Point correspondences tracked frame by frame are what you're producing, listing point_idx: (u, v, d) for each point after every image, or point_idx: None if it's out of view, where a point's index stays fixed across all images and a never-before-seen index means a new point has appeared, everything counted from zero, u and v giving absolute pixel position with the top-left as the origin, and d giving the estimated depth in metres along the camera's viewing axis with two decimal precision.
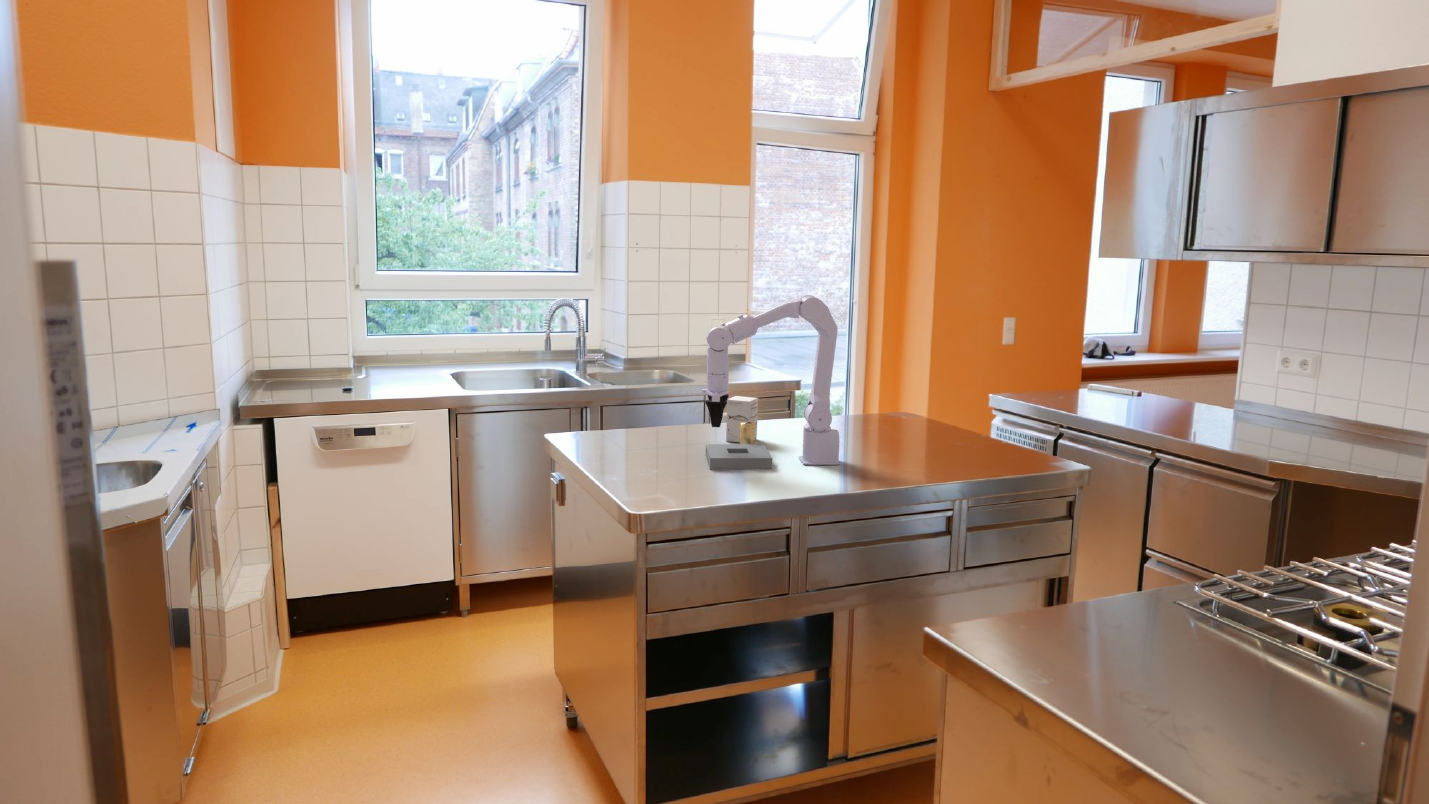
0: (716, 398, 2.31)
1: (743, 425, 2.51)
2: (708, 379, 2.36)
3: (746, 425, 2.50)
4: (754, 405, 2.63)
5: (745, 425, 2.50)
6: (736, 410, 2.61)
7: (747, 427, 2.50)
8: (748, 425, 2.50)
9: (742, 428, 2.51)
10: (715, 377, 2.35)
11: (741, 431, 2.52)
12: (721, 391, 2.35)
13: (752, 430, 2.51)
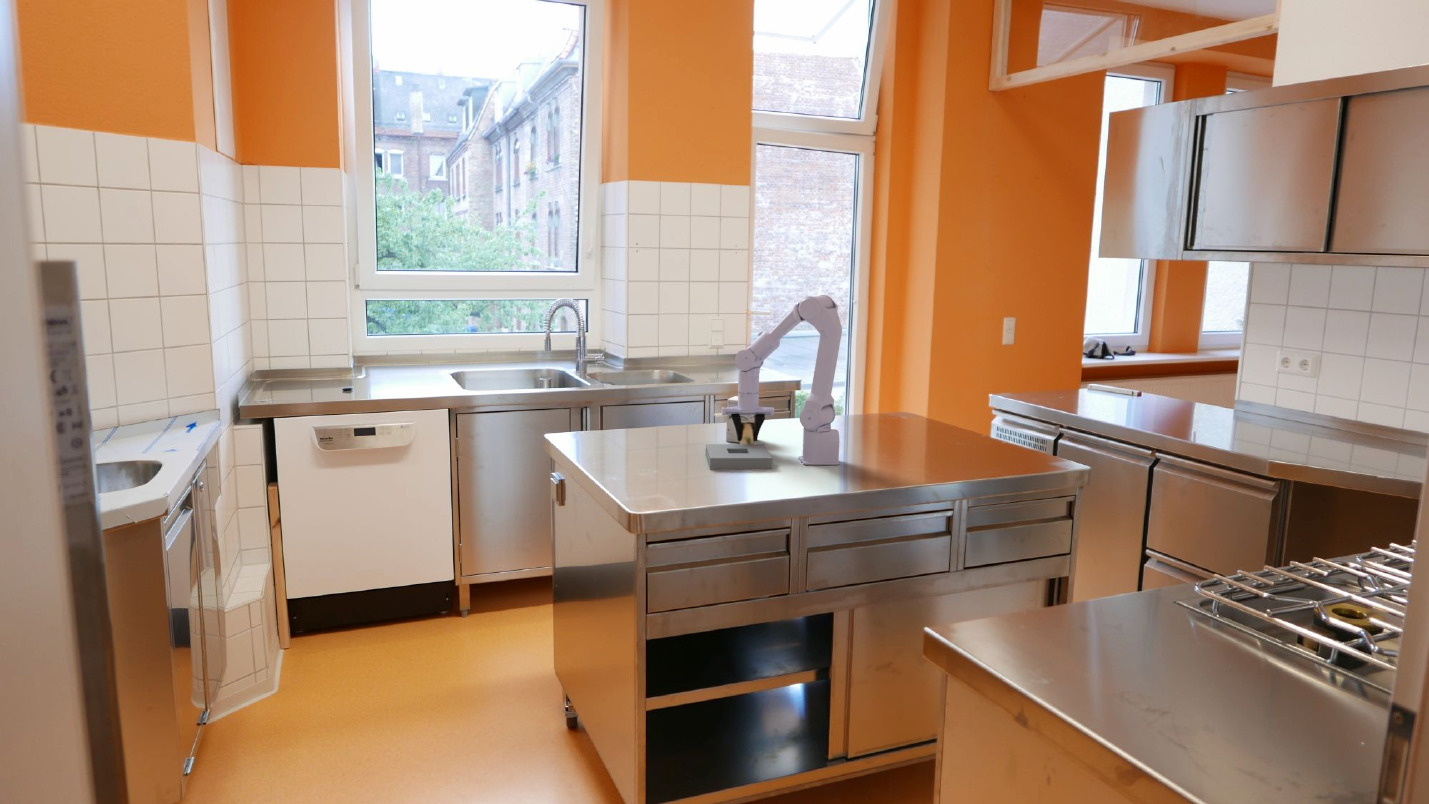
0: None
1: (743, 425, 2.51)
2: None
3: (746, 425, 2.50)
4: None
5: (745, 425, 2.50)
6: None
7: (747, 427, 2.50)
8: (748, 425, 2.50)
9: (742, 428, 2.51)
10: (738, 394, 2.51)
11: (741, 431, 2.52)
12: (739, 408, 2.50)
13: (752, 430, 2.51)
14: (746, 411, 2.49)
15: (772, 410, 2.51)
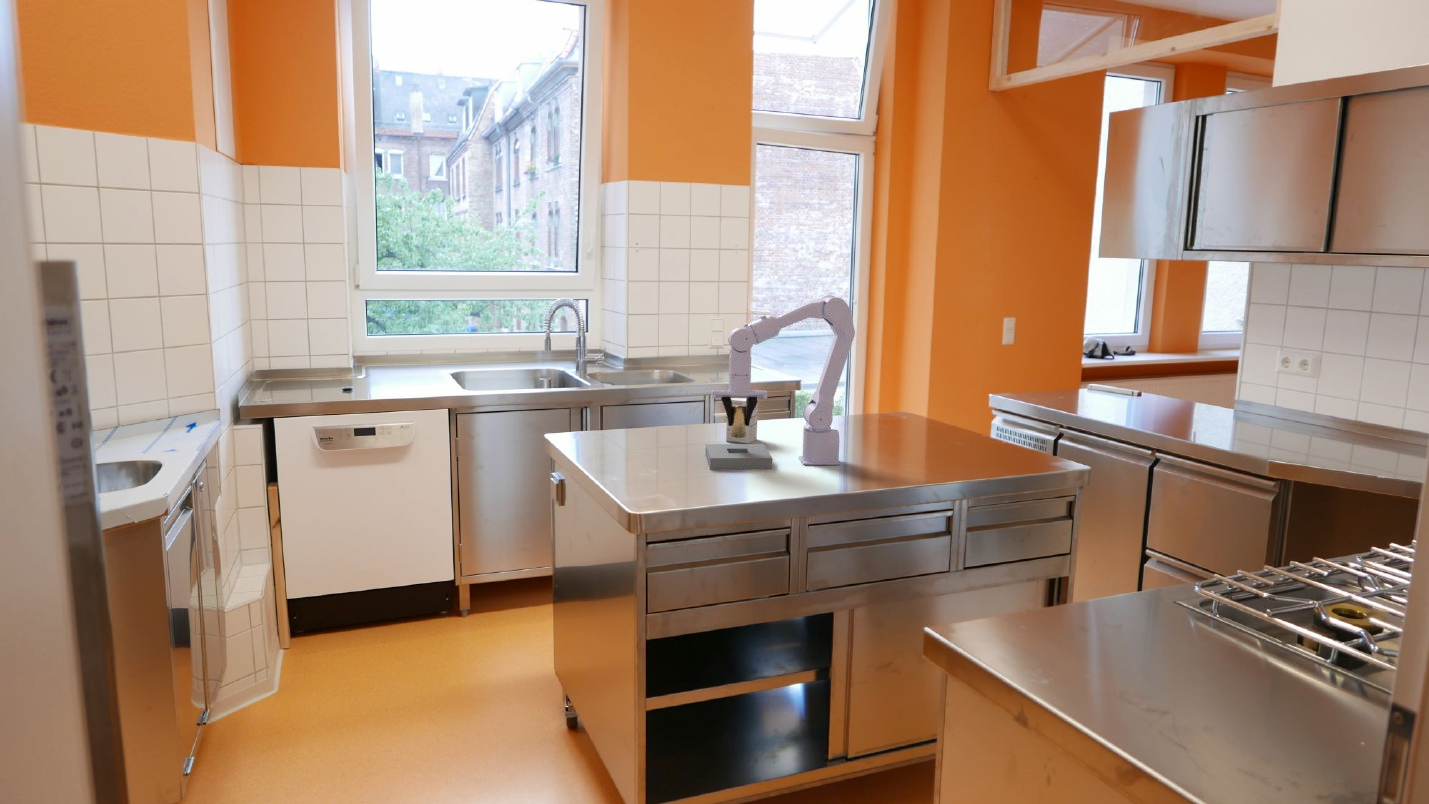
0: None
1: (734, 409, 2.37)
2: None
3: (737, 409, 2.36)
4: None
5: (736, 409, 2.36)
6: None
7: (738, 411, 2.36)
8: (739, 409, 2.36)
9: (733, 412, 2.37)
10: None
11: (732, 415, 2.38)
12: (729, 391, 2.36)
13: (743, 414, 2.37)
14: (737, 394, 2.34)
15: (765, 393, 2.37)
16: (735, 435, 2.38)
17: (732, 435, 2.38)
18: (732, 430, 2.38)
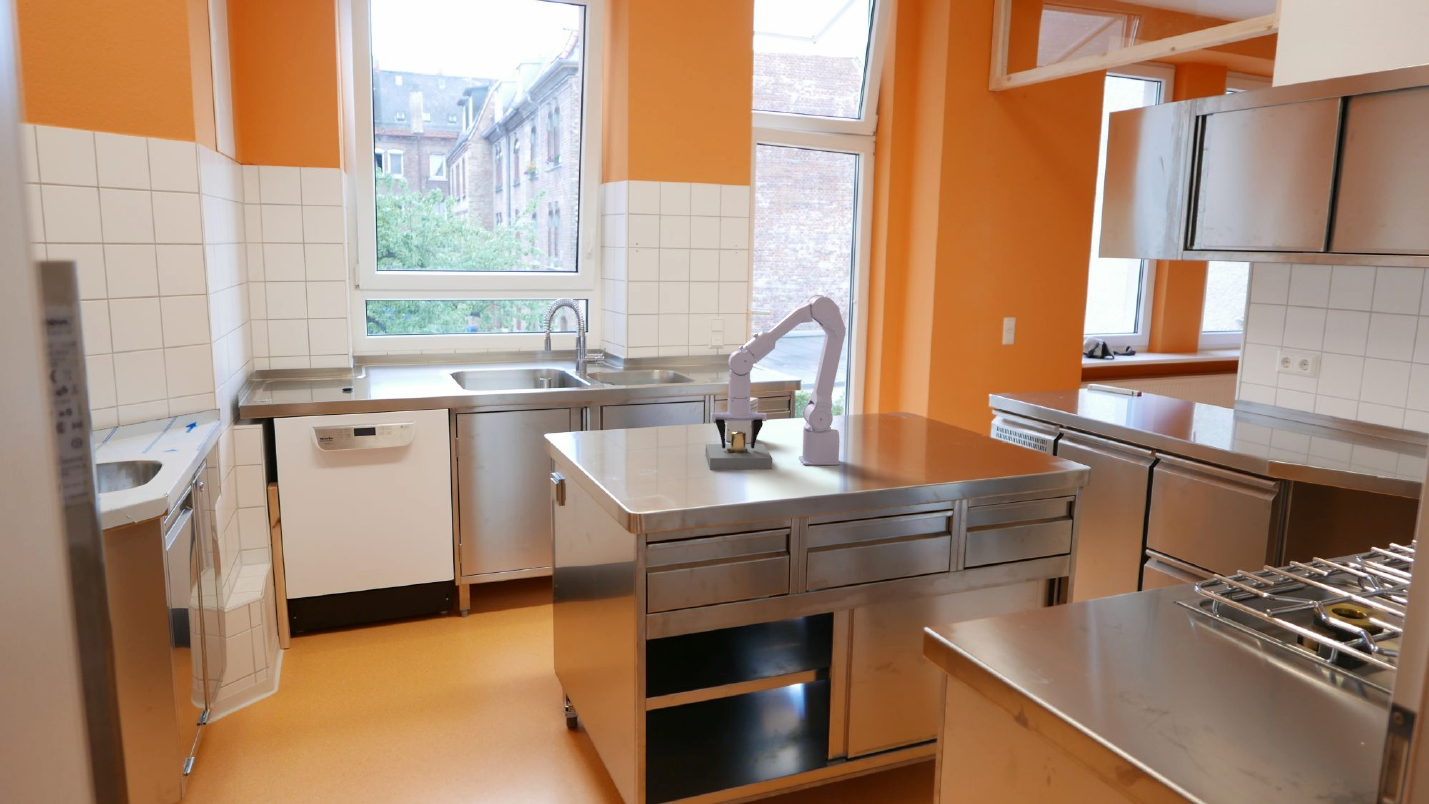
0: (711, 417, 2.38)
1: (733, 435, 2.38)
2: None
3: (736, 435, 2.37)
4: (754, 405, 2.63)
5: (735, 435, 2.38)
6: None
7: (738, 437, 2.38)
8: (738, 435, 2.37)
9: (732, 438, 2.38)
10: (728, 399, 2.38)
11: (731, 441, 2.39)
12: (729, 414, 2.37)
13: (743, 440, 2.38)
14: (737, 417, 2.35)
15: (764, 415, 2.38)
16: None
17: None
18: None
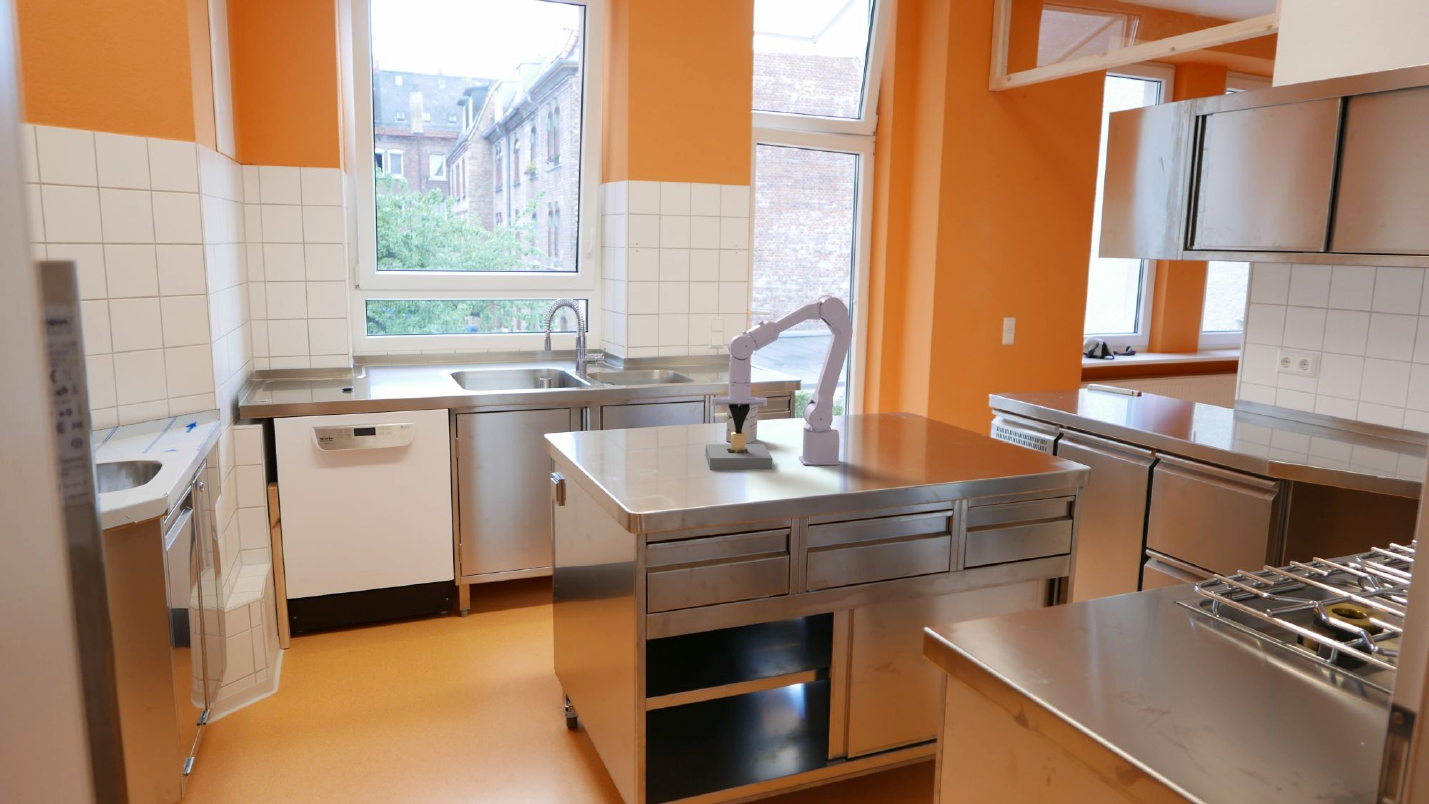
0: (711, 402, 2.37)
1: (733, 435, 2.38)
2: None
3: (736, 435, 2.37)
4: None
5: (735, 435, 2.38)
6: None
7: (738, 437, 2.38)
8: (738, 435, 2.37)
9: (732, 438, 2.38)
10: None
11: (731, 441, 2.39)
12: (729, 398, 2.36)
13: (743, 440, 2.38)
14: (737, 401, 2.35)
15: (765, 400, 2.37)
16: None
17: None
18: None
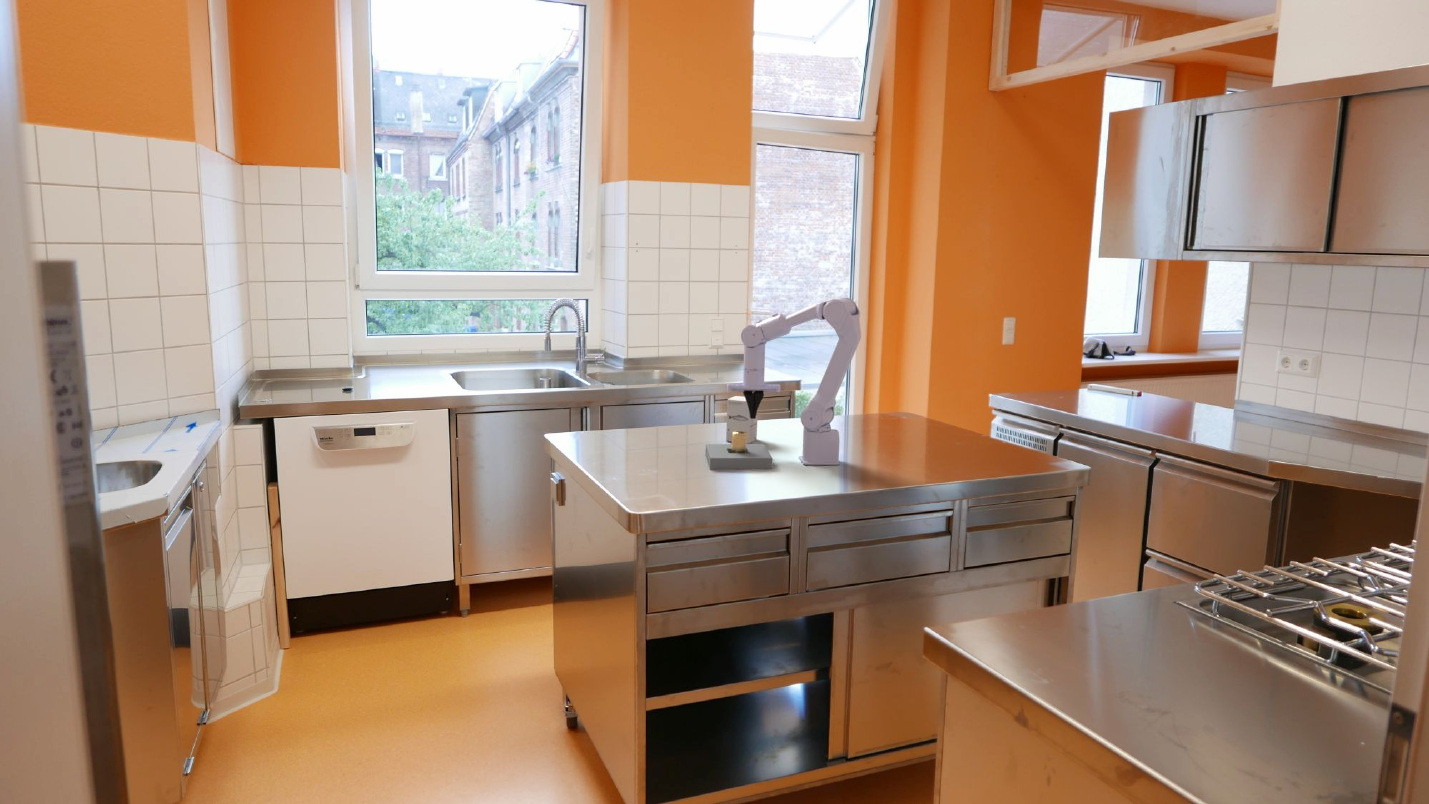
0: (727, 388, 2.47)
1: (735, 435, 2.37)
2: None
3: (739, 435, 2.37)
4: None
5: (738, 435, 2.37)
6: (736, 410, 2.61)
7: (740, 438, 2.37)
8: (741, 435, 2.37)
9: (734, 438, 2.38)
10: None
11: (733, 441, 2.38)
12: (744, 385, 2.46)
13: (745, 440, 2.38)
14: (752, 388, 2.45)
15: (778, 387, 2.47)
16: None
17: None
18: None
